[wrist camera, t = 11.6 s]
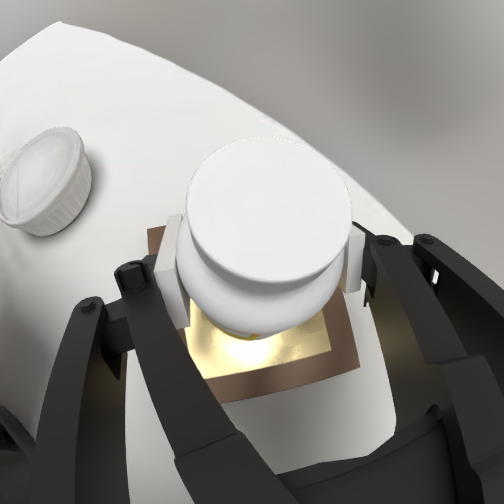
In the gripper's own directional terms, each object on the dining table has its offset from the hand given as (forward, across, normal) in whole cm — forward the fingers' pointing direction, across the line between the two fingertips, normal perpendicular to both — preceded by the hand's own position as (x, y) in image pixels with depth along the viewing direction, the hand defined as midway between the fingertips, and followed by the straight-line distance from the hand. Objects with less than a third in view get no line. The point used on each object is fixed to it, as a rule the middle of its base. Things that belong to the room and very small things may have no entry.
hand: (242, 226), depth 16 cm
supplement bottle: (+1, 0, -6) cm, 6 cm away
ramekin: (+12, -18, +3) cm, 22 cm away
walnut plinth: (+2, 0, -7) cm, 7 cm away
